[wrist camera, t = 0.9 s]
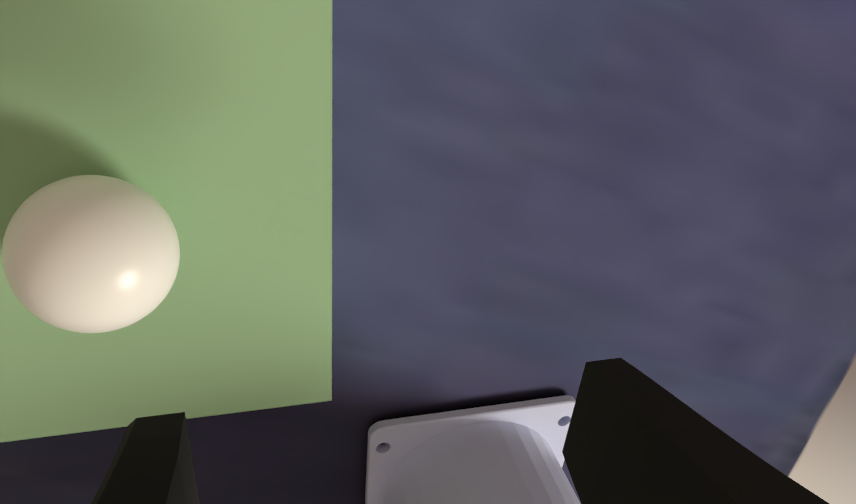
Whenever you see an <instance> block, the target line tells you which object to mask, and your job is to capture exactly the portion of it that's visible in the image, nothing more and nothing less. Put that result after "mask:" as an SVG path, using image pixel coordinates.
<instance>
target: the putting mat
mask: <svg viewBox="0 0 856 504" xmlns="http://www.w3.org/2000/svg"><path fill="white" fill-rule="evenodd" d="M79 175H102V176H109V177H114V178H118V179H121V180H124V181H127V182H129V183H131V184H133V185H135V186H138V187H139V188H141V189H143V190H144V191H146V192H147V193H148V194H150V195H151V196H152V197H154V198H155V199H156V200H157V201H158V202H159V203H160V204H161V206H162V207H163V208H164V210H165V211H166V212H167V214H168V215H169V217H170V219H171V220H172V222H173V224H174V227H175V229H176V232H177V236H178V240H179V247H180V261H179V268H178V272H177V275H176V279H175V281H174V283H173V285H172V287H171V289H170V291H169V293H168V294H167V296H166V297H165V299H164V300H163V301H162V302H161V303H160V304H159V305H158V306H157V307H156V309H154V310H153V311H152V312H151V313H150V314H148V315H147V316H145V317H144V318H142V319H141V320H139V321H137V322H135V323H133V324H131V325H129V326H126V327H124V328H121V329H117V330H113V331H109V332H103V333H79V332H72V331H68V330H64V329H61V328H58V327H55V326H52V325H50V324H48V323H46V322H44V321H42V320H41V319H39V318H38V317H36V316H35V315H33V314H32V313H31V312H30V311H29V310H27V309H26V308H25V307H24V306H23V305H22V304H21V303H20V301H19V300H18V299H17V298H16V296H15V295H14V293H13V291H12V290H11V288H10V286H9V284H8V282H7V279H6V277H5V273H4V268H3V264H2V246H3V238H4V235H5V232H6V229H7V226H8V224H9V222H10V220H11V218H12V216H13V215H14V213H15V212H16V211H17V209H18V208H19V207H20V206H21V204H22V203H23V202H24V201H25V200H26V199H28V198H29V197H30V196H31V195H32V194H34V193H35V192H36V191H38V190H39V189H41V188H42V187H44V186H46V185H48V184H50V183H53V182H55V181H58V180H61V179H64V178H68V177H73V176H79ZM324 401H332V0H0V442H8V441H16V440H24V439H32V438H40V437H48V436H56V435H63V434H71V433H79V432H87V431H95V430H103V429H111V428H119V427H127V426H128V425H129V424H130V423H131V422H132V421H134V420H135V419H136V418H140V417H148V416H156V415H164V414H172V413H180V412H185V416H186V419H190V418H198V417H205V416H213V415H221V414H229V413H237V412H245V411H253V410H261V409H269V408H277V407H284V406H292V405H300V404H308V403H316V402H324Z"/></svg>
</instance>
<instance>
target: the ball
mask: <svg viewBox="0 0 856 504" xmlns="http://www.w3.org/2000/svg"><path fill="white" fill-rule="evenodd" d="M179 261H180V247H179V240H178V236H177V232H176V229H175V227H174V224H173V222H172V220H171V219H170V217H169V215H168V214H167V212H166V211H165V210H164V208H163V207H162V206H161V204H160V203H159V202H158V201H157V200H156V199H155V198H154V197H152V196H151V195H150V194H148V193H147V192H146V191H144V190H143V189H141V188H139V187H138V186H135V185H133V184H131V183H129V182H127V181H124V180H121V179H118V178H114V177H109V176H102V175H79V176H73V177H68V178H64V179H61V180H58V181H55V182H53V183H50V184H48V185H46V186H44V187H42V188H41V189H39V190H38V191H36V192H35V193H34V194H32V195H31V196H30V197H29V198H28V199H26V200H25V201H24V202H23V203H22V204H21V206H20V207H19V208H18V209H17V211H16V212H15V213H14V215H13V216H12V218H11V220H10V222H9V224H8V226H7V229H6V232H5V235H4V238H3V246H2V264H3V268H4V273H5V277H6V279H7V282H8V284H9V286H10V288H11V290H12V291H13V293H14V295H15V296H16V298H17V299H18V300H19V301H20V303H21V304H22V305H23V306H24V307H25V308H26V309H27V310H29V311H30V312H31V313H32V314H33V315H35V316H36V317H38V318H39V319H41V320H42V321H44V322H46V323H48V324H50V325H52V326H55V327H58V328H61V329H64V330H68V331H72V332H79V333H103V332H109V331H113V330H117V329H121V328H124V327H126V326H129V325H131V324H133V323H135V322H137V321H139V320H141V319H142V318H144V317H145V316H147V315H148V314H150V313H151V312H152V311H153V310H154V309H156V307H157V306H158V305H159V304H160V303H161V302H162V301H163V300H164V299H165V297H166V296H167V294H168V293H169V291H170V289H171V287H172V285H173V283H174V281H175V279H176V275H177V272H178V268H179Z"/></svg>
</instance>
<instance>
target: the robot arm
mask: <svg viewBox="0 0 856 504" xmlns="http://www.w3.org/2000/svg"><path fill="white" fill-rule="evenodd" d="M381 443H384V444H381ZM379 444H381V445H379ZM564 459H565V461H566V464H567V467H568V469H569V472H570V475H571V478H572V480H573V483H574V486H575V488H576V491H577V493H578V496H579V498H580V500H581V503H582V504H829V503H827V502H826V501H824V500H823V499H821V498H820V497H818V496H817V495H815V494H814V493H812V492H810V491H809V490H807V489H806V488H804V487H803V486H801V485H800V484H798V483H796V482H795V481H793V480H792V479H790V478H789V477H787V476H786V475H784V474H783V473H781V472H780V471H778V470H777V469H776V468H774V467H773V466H771V465H770V464H768V463H767V462H765V461H764V460H762V459H761V458H759V457H758V456H757V455H755V454H754V453H752V452H751V451H749V450H748V449H747V448H745V447H744V446H742V445H741V444H740V443H738V442H737V441H735V440H734V439H733V438H731V437H730V436H728V435H727V434H726V433H724V432H723V431H721V430H720V429H719V428H717V427H716V426H714V425H713V424H712V423H710V422H709V421H708V420H706V419H705V418H703V417H702V416H701V415H699V414H698V413H697V412H695V411H694V410H693V409H691V408H690V407H688V406H687V405H686V404H684V403H683V402H682V401H680V400H679V399H678V398H676V397H675V396H674V395H672V394H671V393H669V392H668V391H667V390H665V389H664V388H663V387H661V386H660V385H659V384H657V383H656V382H654V381H653V380H652V379H650V378H649V377H648V376H646V375H645V374H643V373H642V372H641V371H639V370H638V369H636V368H635V367H633V366H632V365H630V364H629V363H628V362H626V361H625V360H623V359H622V358H615V359H607V360H599V361H591V362H586V365H585V368H584V372H583V376H582V380H581V383H580V387H579V391H578V394H577V398H576V401H575V399H574V398H573V397H572V396H570V395H564V396H557V397H549V398H542V399H535V400H527V401H520V402H513V403H506V404H498V405H491V406H484V407H476V408H469V409H462V410H455V411H447V412H440V413H433V414H425V415H418V416H411V417H404V418H396V419H389V420H382V421H378V422H376V423H375V424H373V425H372V426H371V427H370V428H369V431H368V444H367V468H366V492H365V504H580V502H579V500H578V498H577V496H576V494H575V492H574V491H573V489H572V487H571V485H570V483H569V481H568V479H567V477H566V475H565V474H564V472H563V470H562V466H563V463H564ZM92 504H200V502H199V496H198V489H197V483H196V477H195V471H194V465H193V459H192V452H191V446H190V440H189V434H188V428H187V422H186V416H185V412H180V413H172V414H164V415H156V416H148V417H140V418H136V419H135V420H134V421H132V422H131V423H130V424H129V425H128V427H127V430H126V432H125V435H124V437H123V440H122V442H121V444H120V446H119V449H118V451H117V453H116V455H115V457H114V460H113V462H112V464H111V466H110V468H109V470H108V472H107V474H106V476H105V478H104V480H103V482H102V484H101V486H100V488H99V490H98V492H97V494H96V496H95V498H94V500H93V502H92Z"/></svg>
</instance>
